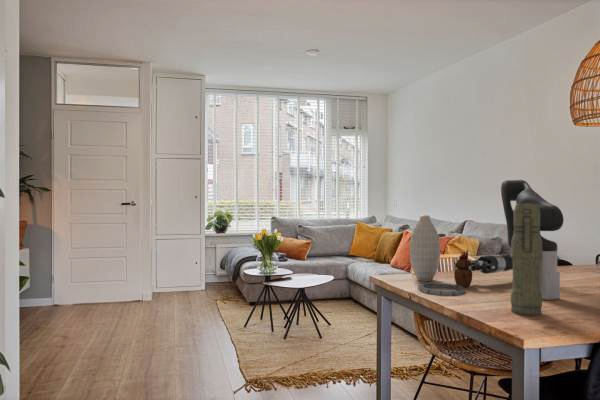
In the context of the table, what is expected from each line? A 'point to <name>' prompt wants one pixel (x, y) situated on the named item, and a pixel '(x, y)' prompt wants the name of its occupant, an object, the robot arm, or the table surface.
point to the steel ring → (426, 286)
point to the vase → (424, 249)
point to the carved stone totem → (526, 260)
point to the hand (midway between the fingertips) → (463, 266)
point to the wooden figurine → (463, 271)
